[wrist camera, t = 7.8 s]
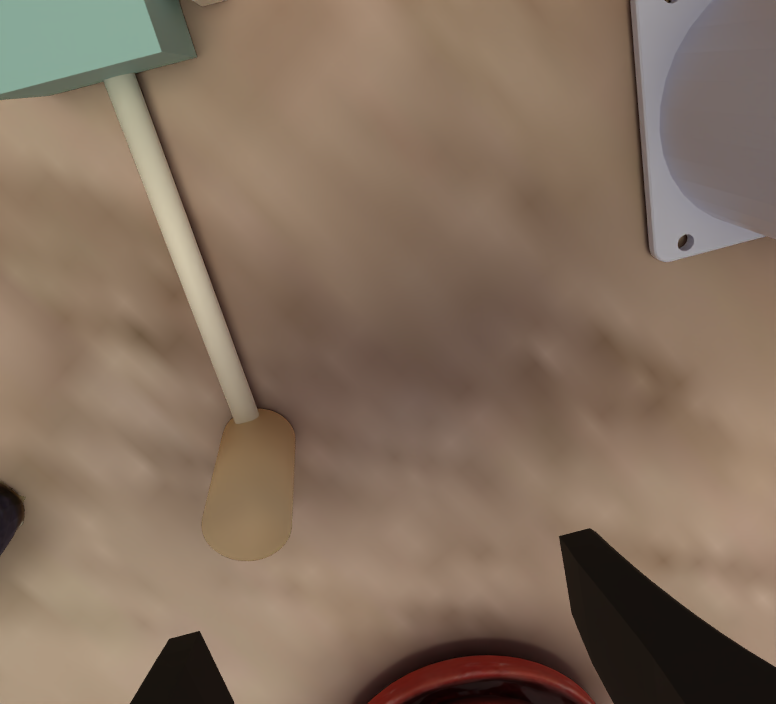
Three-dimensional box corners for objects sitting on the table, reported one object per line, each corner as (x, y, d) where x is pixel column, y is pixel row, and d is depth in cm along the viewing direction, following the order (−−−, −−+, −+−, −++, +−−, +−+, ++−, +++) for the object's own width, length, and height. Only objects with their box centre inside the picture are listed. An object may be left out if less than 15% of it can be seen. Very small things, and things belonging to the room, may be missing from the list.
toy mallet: (138, -122, 16) (77, -191, 12) (326, 454, 22) (330, 540, 18) (-24, -79, 16) (-143, -134, 12) (212, 485, 22) (191, 577, 18)
